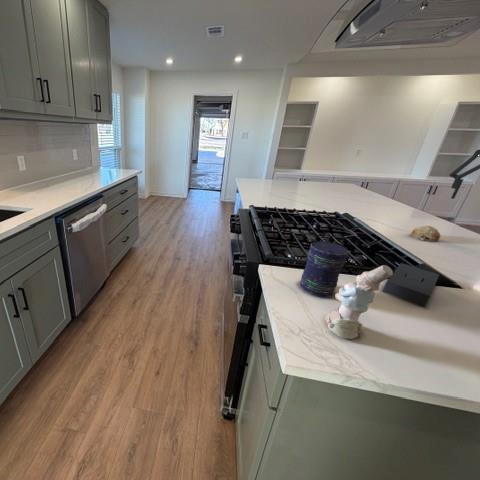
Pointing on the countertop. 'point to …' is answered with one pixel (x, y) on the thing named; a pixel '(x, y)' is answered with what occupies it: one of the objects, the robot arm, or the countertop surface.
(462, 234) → the countertop surface
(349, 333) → the figurine
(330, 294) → the storage jar
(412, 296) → the base pad
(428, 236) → the bread roll
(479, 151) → the robot arm
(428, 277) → the loose pad
